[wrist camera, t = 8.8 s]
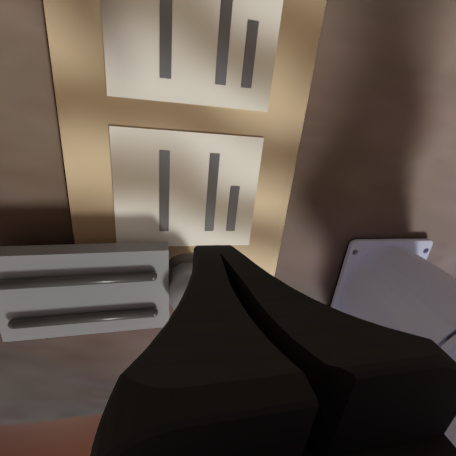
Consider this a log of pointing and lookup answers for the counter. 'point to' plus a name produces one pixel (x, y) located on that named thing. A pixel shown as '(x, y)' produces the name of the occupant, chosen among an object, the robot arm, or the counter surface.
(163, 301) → the grey slotted block
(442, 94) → the counter surface
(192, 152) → the label board
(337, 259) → the counter surface
